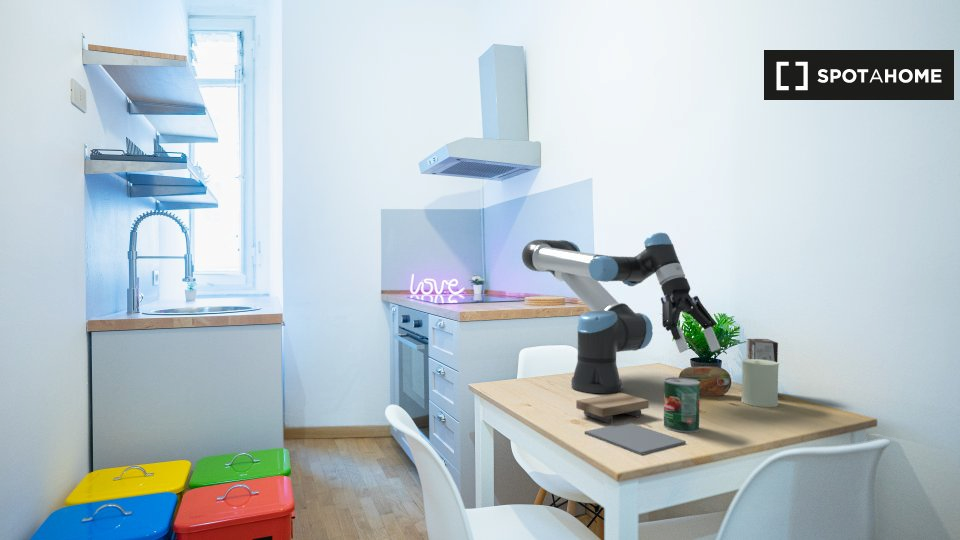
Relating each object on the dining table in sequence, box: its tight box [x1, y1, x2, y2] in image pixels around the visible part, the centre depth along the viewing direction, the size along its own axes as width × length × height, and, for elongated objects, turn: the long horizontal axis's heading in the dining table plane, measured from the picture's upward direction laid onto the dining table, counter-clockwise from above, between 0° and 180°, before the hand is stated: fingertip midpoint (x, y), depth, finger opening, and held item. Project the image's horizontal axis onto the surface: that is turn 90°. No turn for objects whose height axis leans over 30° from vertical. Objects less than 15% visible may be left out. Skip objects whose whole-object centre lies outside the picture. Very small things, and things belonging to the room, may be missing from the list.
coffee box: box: [746, 338, 779, 363], centre depth 165 cm, size 9×6×16 cm
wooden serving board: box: [575, 392, 650, 424], centre depth 138 cm, size 9×16×4 cm, turn 123°
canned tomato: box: [663, 376, 701, 434], centre depth 129 cm, size 8×8×11 cm
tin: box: [678, 366, 732, 397], centre depth 163 cm, size 15×3×8 cm, turn 91°
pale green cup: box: [740, 358, 780, 408], centre depth 154 cm, size 9×9×12 cm
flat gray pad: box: [584, 422, 687, 456], centre depth 121 cm, size 16×14×1 cm
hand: (700, 350), depth 152 cm, fingers open, 13 cm apart
